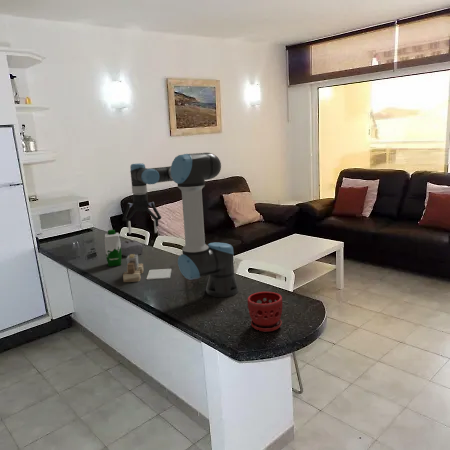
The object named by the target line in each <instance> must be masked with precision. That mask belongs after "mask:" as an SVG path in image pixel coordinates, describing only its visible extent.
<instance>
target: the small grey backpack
mask: <svg viewBox="0 0 450 450" xmlns="http://www.w3.org/2000/svg"><path fill="white" fill-rule="evenodd" d="M120 243H121V254H122V256H123V257H126V258H127V256H128V255H130V254H135V255H138V256H139V255H142V254H143V250H144V249H143V248H144V247H143V244H142V243H140V242H139V241H138V240H134V239H126V240H122V241H120Z"/></svg>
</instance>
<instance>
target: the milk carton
mask: <svg viewBox="0 0 450 450" xmlns="http://www.w3.org/2000/svg"><path fill="white" fill-rule="evenodd" d="M103 239H104V248H105V257H106V262H107V266H108V267H117V266H118V267H119V266H122V256H123V255H122V254H121V243H120V242H121V237H120V233H119V232H116V230H115V229H109V230H107V233H104V238H103Z"/></svg>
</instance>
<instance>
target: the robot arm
mask: <svg viewBox="0 0 450 450" xmlns="http://www.w3.org/2000/svg"><path fill="white" fill-rule="evenodd" d="M221 169H222V162H221V159H220V158H219V157H218V156H217V155H216V154H214V153H211V152H196V153H184V154H178V155H176V156H175V157H174V159H173V161H172V163H171V165H170V166H163V167H162V166H158V167H150V168H149V167H148V168H146V165H145V164H144V162H143V163H132V164H130V171H129V173H130V178H131V179H130V180H131V181H130V182H131V192H132V203H131V202H128V203H126V209H125V211H124V214H123V217H122V222H125V226H126V228H128V235H131V234H132V226H131V225H132V224H131V218H132V217H133V215H134V214H135V213H136V212H145V211H146V212H147V214H149V215H150V217H151V218H153V226H154V234H157V232H158V226H159V221H160V220H161V219H162V216H161V214H160V213H159V211H158V209H157V207H156V205H155V202H154V201H152V202H149V201H148V200H149V199H148V188H147V185H155V184H159V183H166V182H174V183H175V184H177V188H178V189H179V190H180V191H181V200H182V201H181V203H182V215H183V231H184V242H185V245H184V246H183V247H182V251H181V253H182V254H180V255H179V256H178V258H177V265H178V269H179V271H180V273H181V275H182V276H183V277H184V278H185V279H187V280H190V281H191V280H197V279H201V278H202V277H205V276H206V277H207V276H208V280H207V283H206V287H205V288H206V289H205V290H206V292H205V293H206V294H207V295H208V296H211V297H215V298H228V297H232V296H234V295H236V294H237V293H239V283H238V282H237V279H236V276H235V260H234V255H235V253H234V247H233V246H232V244H229V243H226V242H210V243H208V244H206V242H205V241H206V236H205V235H206V234H205V224H204V223H205V221H204V220H205V219H204V206H203V204H204V203H203V191H202V190H203V188H205V186H206V182H205V181H206V180H207V181H209V180H211V179H214V178H216V177H218V175H219V174H220V172H221ZM149 206H150V208H152V209H150V208H149ZM132 207H133V208H134V209H133V210H132V211H131V213H130V214H129V216H128V213H129V211H130V209H131V208H132ZM151 210H152V211H151ZM153 211H154V213H153ZM127 216H128V217H127Z"/></svg>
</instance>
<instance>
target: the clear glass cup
mask: <svg viewBox="0 0 450 450" xmlns="http://www.w3.org/2000/svg"><path fill="white" fill-rule="evenodd" d="M128 263H134V267H135V271H137V270H138V268H139V264H140V263H139V255H135V254H130V255H128V256H127V257H126V265H127V264H128ZM127 269H128V267H127V266H126V270H127Z"/></svg>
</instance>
